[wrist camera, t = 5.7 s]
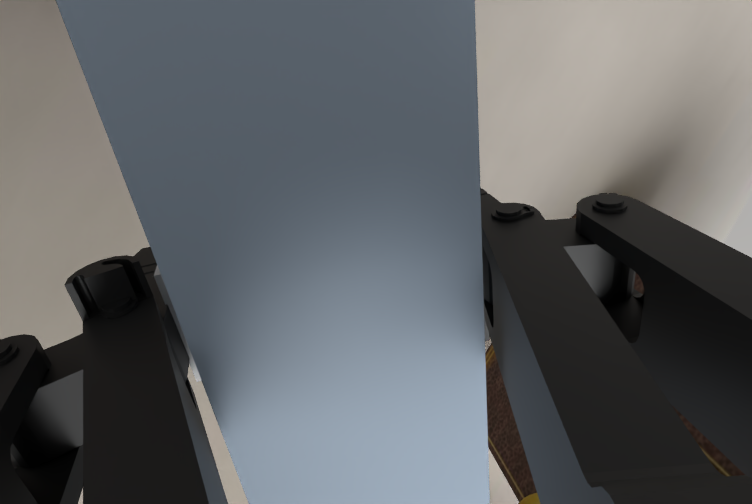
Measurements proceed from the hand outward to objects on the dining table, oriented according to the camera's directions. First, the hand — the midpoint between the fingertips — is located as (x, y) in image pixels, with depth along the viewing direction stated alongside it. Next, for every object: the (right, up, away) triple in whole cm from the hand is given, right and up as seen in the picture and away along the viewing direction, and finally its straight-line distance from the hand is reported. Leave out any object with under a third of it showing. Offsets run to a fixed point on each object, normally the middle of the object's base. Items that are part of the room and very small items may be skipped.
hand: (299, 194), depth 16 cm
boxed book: (0, 0, 0) cm, 0 cm away
